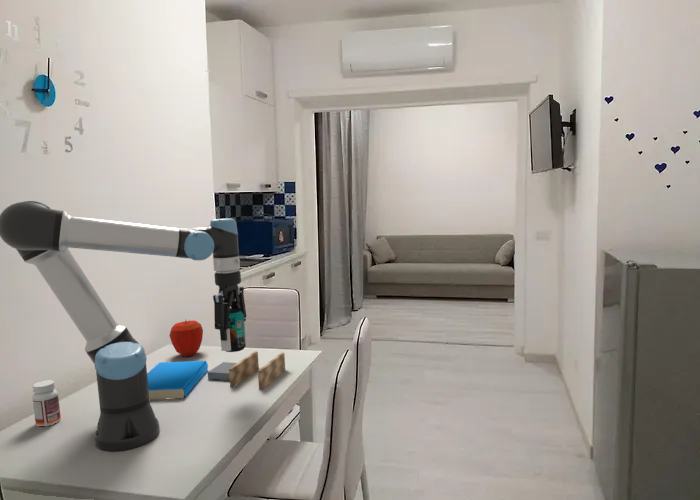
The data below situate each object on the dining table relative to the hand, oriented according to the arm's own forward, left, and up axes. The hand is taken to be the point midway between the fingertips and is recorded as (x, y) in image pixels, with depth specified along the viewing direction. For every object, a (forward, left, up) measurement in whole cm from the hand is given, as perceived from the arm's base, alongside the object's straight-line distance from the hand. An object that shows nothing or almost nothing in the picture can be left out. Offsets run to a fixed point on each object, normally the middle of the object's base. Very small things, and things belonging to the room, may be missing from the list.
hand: (233, 346), depth 159 cm
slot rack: (+14, 0, -15) cm, 21 cm away
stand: (+15, +11, -15) cm, 24 cm away
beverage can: (0, 0, -1) cm, 1 cm away
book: (+4, +26, -16) cm, 31 cm away
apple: (+33, +38, -15) cm, 53 cm away
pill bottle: (-28, +43, -15) cm, 53 cm away
